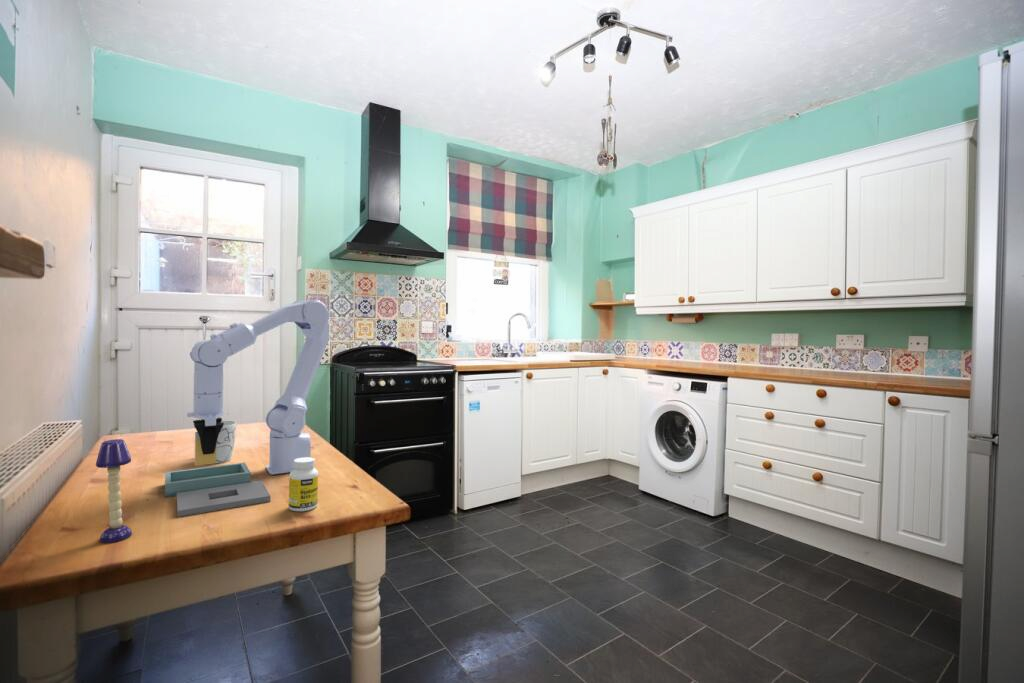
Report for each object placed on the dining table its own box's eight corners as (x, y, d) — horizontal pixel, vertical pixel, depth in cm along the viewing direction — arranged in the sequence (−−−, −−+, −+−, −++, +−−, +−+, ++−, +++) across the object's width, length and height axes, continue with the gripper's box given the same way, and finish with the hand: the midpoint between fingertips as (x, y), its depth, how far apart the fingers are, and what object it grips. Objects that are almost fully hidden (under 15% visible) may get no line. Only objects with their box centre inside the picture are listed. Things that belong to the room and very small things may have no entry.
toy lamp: (92, 545, 80) (92, 444, 80) (100, 534, 84) (100, 438, 84) (128, 540, 82) (128, 442, 82) (134, 529, 86) (135, 436, 86)
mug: (188, 459, 132) (188, 422, 131) (221, 453, 139) (221, 418, 138) (208, 466, 125) (208, 428, 125) (241, 460, 132) (242, 423, 132)
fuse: (215, 460, 113) (215, 430, 113) (216, 463, 111) (216, 432, 111) (194, 462, 111) (194, 432, 111) (195, 465, 109) (195, 434, 108)
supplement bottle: (299, 514, 95) (300, 464, 95) (283, 508, 98) (283, 460, 98) (323, 506, 100) (324, 458, 100) (307, 500, 103) (307, 454, 102)
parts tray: (244, 473, 120) (244, 462, 120) (250, 484, 112) (250, 472, 112) (165, 484, 111) (165, 472, 111) (164, 497, 103) (165, 484, 103)
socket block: (261, 485, 112) (261, 480, 111) (270, 501, 102) (270, 495, 102) (176, 498, 102) (176, 492, 102) (177, 517, 92) (177, 510, 92)
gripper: (186, 390, 115) (185, 447, 115) (188, 397, 103) (188, 461, 103) (221, 388, 119) (220, 443, 119) (227, 395, 107) (226, 457, 107)
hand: (208, 452), depth 111 cm, fingers closed on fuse, 3 cm apart
